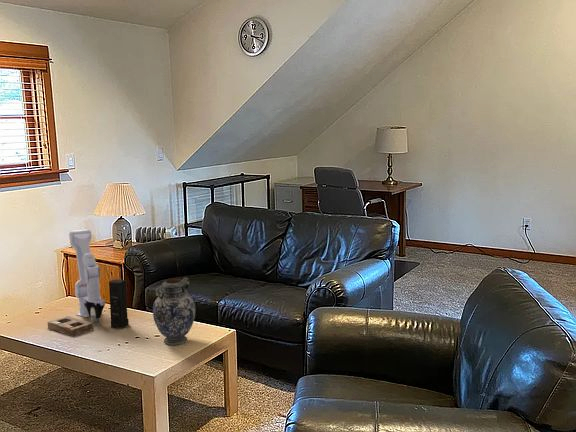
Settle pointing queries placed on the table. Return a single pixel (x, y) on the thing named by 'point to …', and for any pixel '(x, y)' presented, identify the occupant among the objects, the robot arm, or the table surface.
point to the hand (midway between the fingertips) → (95, 317)
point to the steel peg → (94, 316)
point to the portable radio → (118, 303)
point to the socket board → (70, 325)
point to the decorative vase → (174, 310)
